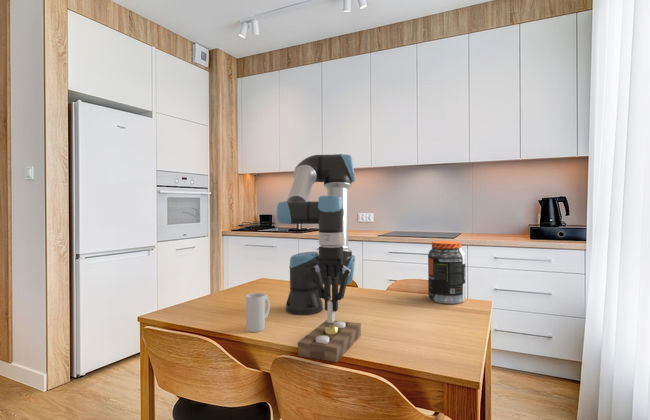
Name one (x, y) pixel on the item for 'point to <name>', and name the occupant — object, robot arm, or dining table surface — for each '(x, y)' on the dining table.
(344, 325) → the grey plug
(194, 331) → the dining table surface
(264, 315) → the mug
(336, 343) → the socket block
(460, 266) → the supplement tub
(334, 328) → the plug brass
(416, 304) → the dining table surface
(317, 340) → the grey plug
